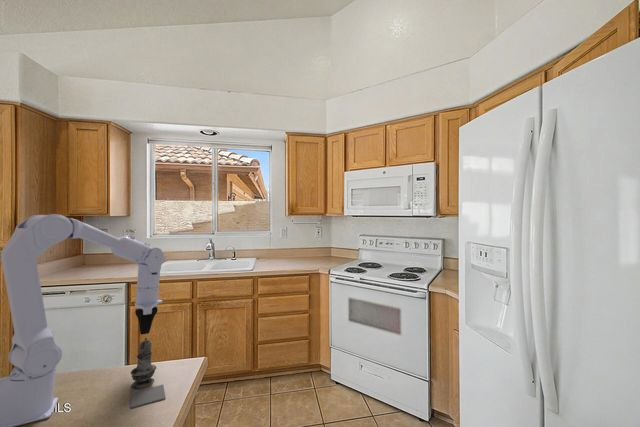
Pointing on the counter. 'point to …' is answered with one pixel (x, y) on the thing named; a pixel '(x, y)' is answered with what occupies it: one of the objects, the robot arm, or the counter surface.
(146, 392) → the charcoal mat
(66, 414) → the counter surface
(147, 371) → the dark grey chess piece
